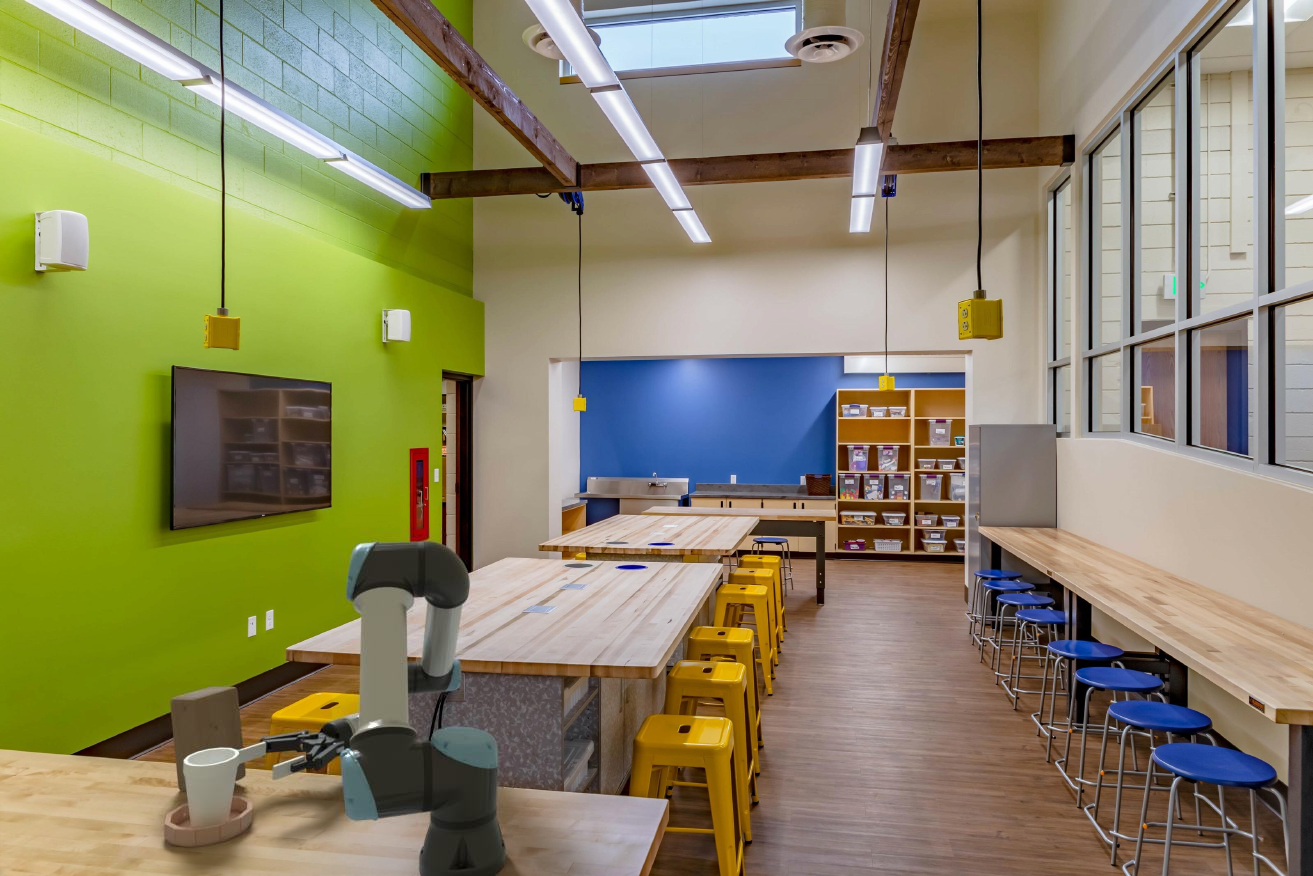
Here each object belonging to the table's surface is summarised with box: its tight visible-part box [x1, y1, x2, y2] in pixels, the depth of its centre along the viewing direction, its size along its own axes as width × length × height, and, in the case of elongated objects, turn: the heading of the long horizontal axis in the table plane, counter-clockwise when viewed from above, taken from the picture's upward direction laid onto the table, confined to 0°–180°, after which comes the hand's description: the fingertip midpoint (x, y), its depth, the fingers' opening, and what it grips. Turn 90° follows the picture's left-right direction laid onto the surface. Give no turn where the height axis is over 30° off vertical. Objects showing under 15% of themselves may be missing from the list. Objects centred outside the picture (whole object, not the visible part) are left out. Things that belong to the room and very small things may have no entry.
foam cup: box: [183, 748, 239, 828], centre depth 154 cm, size 10×9×13 cm
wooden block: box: [169, 686, 247, 793], centre depth 172 cm, size 10×10×20 cm
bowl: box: [163, 795, 253, 848], centre depth 154 cm, size 15×15×3 cm
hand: (253, 765), depth 161 cm, fingers open, 13 cm apart
